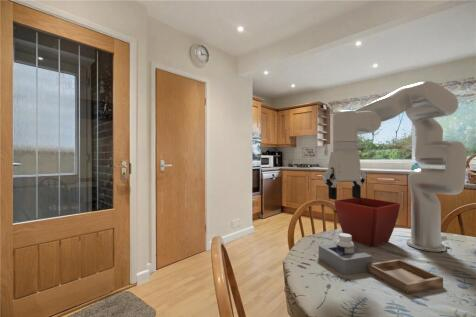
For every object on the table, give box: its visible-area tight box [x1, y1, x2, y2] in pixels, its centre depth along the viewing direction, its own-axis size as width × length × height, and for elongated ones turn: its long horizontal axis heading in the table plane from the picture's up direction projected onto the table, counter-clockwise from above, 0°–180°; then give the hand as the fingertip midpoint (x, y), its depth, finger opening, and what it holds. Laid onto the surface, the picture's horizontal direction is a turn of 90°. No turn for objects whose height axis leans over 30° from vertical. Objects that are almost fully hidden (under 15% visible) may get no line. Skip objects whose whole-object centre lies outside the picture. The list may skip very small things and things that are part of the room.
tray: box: [367, 258, 444, 295], centre depth 71 cm, size 13×13×2 cm
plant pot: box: [334, 196, 401, 247], centre depth 105 cm, size 19×19×17 cm
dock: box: [318, 242, 373, 276], centre depth 81 cm, size 10×13×4 cm
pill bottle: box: [335, 232, 355, 256], centre depth 81 cm, size 5×5×10 cm
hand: (344, 198), depth 81 cm, fingers open, 9 cm apart
